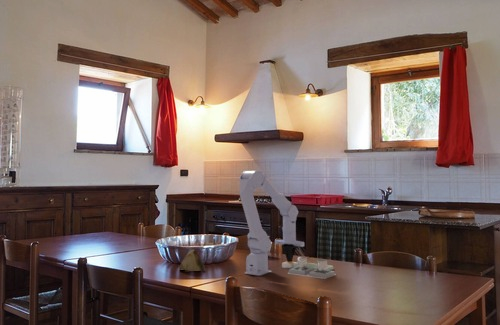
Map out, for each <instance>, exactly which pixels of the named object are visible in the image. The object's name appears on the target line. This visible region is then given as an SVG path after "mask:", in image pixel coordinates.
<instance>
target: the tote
mask: <svg viewBox="0 0 500 325" xmlns="http://www.w3.org/2000/svg"><path fill="white" fill-rule="evenodd" d="M295 267H297V264H295V265H294V267H293V268H295ZM307 268H313V271H314V270H317V263H315V262H313V263H312V262H307ZM327 270H329V271H333V270H334V265H330V264H327Z"/></svg>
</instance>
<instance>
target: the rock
mask: <svg viewBox="0 0 500 325" xmlns="http://www.w3.org/2000/svg"><path fill="white" fill-rule="evenodd" d="M180 270H188V271H187V272H189V271H201V272H204V271H203V270H205V271H206V268H205V265H204V262H203V261H202V258H201V256H200V254H199V252H198V251H197V250H196V249H194V248H193V249H191V250H189V251H188V252H187V254H186V255H185V256H184V258H183V260H182V261H181V262H180V265H179V267H178V271H180Z"/></svg>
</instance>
